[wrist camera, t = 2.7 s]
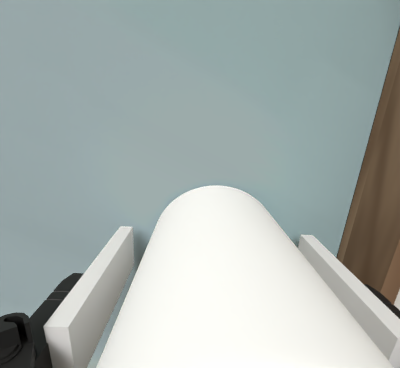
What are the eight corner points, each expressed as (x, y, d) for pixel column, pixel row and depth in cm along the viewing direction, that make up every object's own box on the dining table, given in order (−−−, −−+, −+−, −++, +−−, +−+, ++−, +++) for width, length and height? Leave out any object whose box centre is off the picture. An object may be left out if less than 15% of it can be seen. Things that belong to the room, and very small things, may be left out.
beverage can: (295, 223, 14) (718, 649, 3) (226, 302, 16) (300, 761, 4) (198, 158, 13) (196, 435, 1) (134, 252, 15) (-96, 714, 3)
